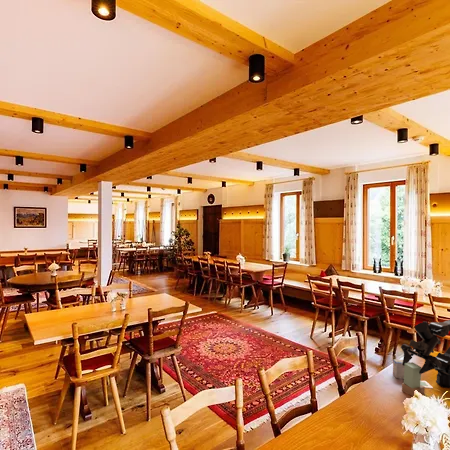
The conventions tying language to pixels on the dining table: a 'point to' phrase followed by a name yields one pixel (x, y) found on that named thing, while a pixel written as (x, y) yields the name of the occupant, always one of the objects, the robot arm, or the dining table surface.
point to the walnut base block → (412, 389)
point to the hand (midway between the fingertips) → (411, 369)
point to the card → (425, 384)
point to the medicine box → (398, 368)
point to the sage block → (412, 375)
